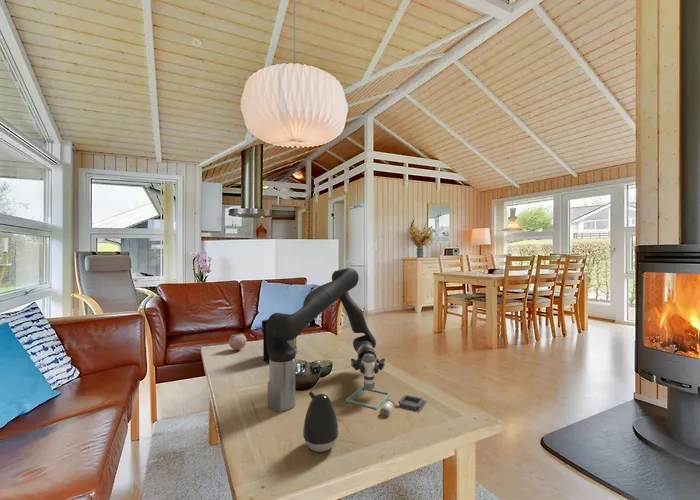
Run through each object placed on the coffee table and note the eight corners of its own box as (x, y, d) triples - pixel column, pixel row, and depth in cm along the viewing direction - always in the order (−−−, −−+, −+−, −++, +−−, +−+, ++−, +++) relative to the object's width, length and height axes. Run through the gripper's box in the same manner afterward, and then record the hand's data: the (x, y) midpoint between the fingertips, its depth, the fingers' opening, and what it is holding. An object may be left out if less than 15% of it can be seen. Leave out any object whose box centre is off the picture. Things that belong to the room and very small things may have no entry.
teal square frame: (376, 412, 120) (376, 407, 120) (345, 403, 126) (345, 399, 126) (391, 396, 132) (391, 392, 132) (362, 389, 138) (362, 386, 138)
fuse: (388, 420, 115) (389, 410, 115) (378, 417, 116) (379, 407, 116) (394, 409, 122) (395, 400, 122) (385, 406, 124) (386, 397, 123)
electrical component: (275, 364, 167) (275, 323, 166) (260, 360, 172) (260, 320, 172) (299, 354, 182) (299, 316, 181) (284, 351, 187) (284, 314, 186)
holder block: (419, 415, 118) (419, 409, 118) (394, 409, 122) (394, 403, 122) (427, 403, 126) (427, 397, 126) (404, 398, 131) (404, 392, 131)
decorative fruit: (236, 354, 181) (236, 335, 181) (226, 351, 185) (226, 333, 185) (250, 349, 189) (250, 331, 189) (240, 347, 193) (240, 329, 193)
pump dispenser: (323, 432, 107) (323, 383, 107) (345, 446, 100) (345, 394, 99) (295, 445, 100) (295, 393, 100) (317, 462, 93) (317, 406, 92)
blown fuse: (371, 390, 126) (371, 357, 126) (361, 387, 128) (361, 356, 128) (376, 386, 130) (376, 354, 129) (366, 383, 132) (366, 352, 131)
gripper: (349, 346, 143) (350, 361, 126) (383, 346, 143) (389, 361, 126) (349, 364, 143) (350, 381, 126) (383, 364, 143) (389, 381, 126)
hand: (369, 371), depth 126 cm, fingers closed on blown fuse, 4 cm apart
